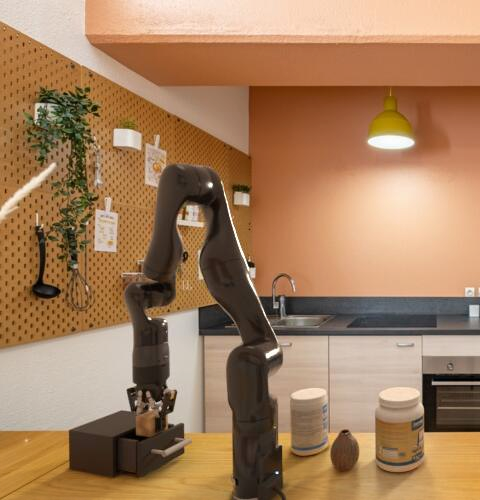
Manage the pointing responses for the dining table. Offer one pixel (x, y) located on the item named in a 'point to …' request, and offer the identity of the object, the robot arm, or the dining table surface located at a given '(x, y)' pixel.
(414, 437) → the supplement tub
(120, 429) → the dark drawer cabinet
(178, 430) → the drawer with bar handle
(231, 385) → the robot arm
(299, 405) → the supplement tub
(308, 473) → the dining table surface
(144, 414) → the block
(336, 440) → the vase
